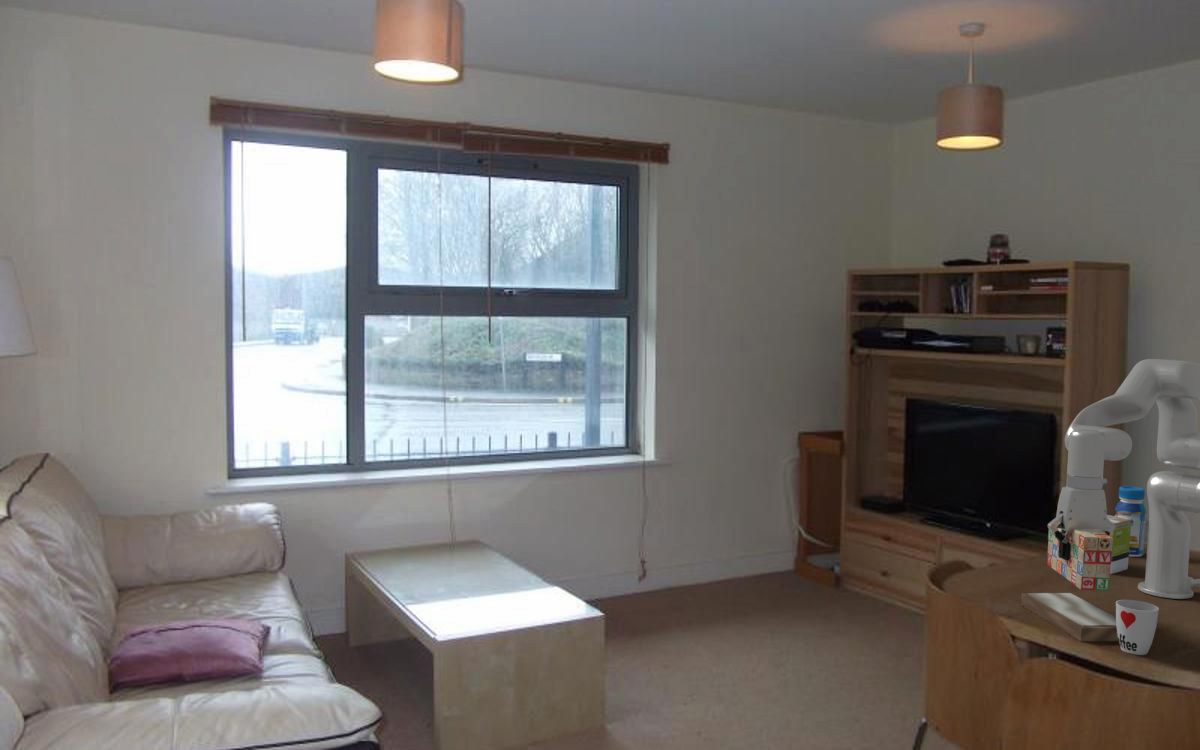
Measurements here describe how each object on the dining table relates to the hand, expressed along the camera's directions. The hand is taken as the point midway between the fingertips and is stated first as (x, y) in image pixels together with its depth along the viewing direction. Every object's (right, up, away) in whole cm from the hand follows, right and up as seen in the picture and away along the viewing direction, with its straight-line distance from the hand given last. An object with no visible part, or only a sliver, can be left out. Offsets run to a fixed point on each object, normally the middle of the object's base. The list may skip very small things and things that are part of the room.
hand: (1079, 558), depth 233 cm
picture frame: (0, -15, +1) cm, 15 cm away
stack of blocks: (0, -5, +1) cm, 5 cm away
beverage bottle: (+47, -11, +68) cm, 83 cm away
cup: (+3, -17, -17) cm, 24 cm away
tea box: (+29, -12, +53) cm, 61 cm away
